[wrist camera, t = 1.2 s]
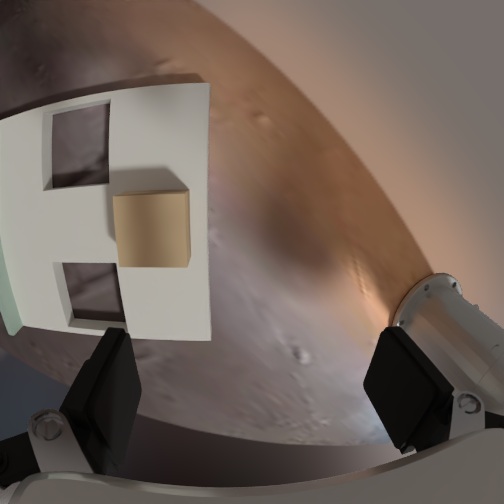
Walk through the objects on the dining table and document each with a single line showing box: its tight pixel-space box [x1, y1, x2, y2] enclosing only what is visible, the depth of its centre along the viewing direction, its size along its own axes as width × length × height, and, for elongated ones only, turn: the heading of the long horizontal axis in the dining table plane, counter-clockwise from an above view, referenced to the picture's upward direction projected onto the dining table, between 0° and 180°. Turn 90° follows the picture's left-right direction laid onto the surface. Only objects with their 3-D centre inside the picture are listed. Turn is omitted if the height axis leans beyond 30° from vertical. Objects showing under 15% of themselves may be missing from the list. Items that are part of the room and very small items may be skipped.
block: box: [113, 189, 191, 268], centre depth 23 cm, size 6×6×3 cm
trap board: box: [0, 83, 211, 341], centre depth 24 cm, size 26×25×4 cm
